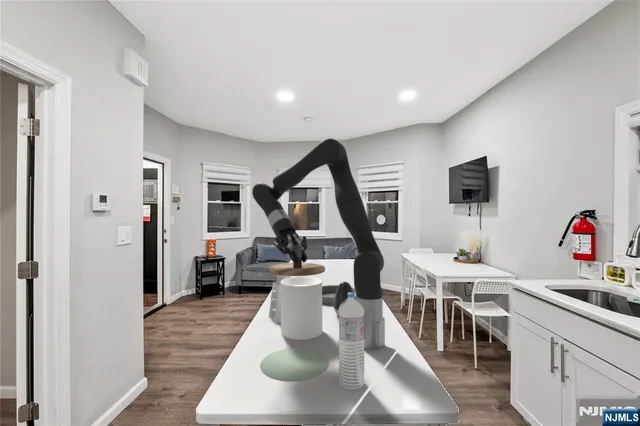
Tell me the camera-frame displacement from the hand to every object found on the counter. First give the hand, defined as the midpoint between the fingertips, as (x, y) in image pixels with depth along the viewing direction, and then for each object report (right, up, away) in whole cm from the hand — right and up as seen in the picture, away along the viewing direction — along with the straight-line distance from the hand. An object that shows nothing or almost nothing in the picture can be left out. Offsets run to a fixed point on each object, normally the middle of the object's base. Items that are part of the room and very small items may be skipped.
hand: (301, 261), depth 107 cm
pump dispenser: (+18, -30, +34) cm, 49 cm away
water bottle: (+15, -30, -22) cm, 41 cm away
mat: (-1, -30, -10) cm, 32 cm away
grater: (-9, -30, +31) cm, 44 cm away
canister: (-1, -30, +15) cm, 34 cm away
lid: (-1, -3, +2) cm, 4 cm away
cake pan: (+14, -30, +62) cm, 70 cm away
